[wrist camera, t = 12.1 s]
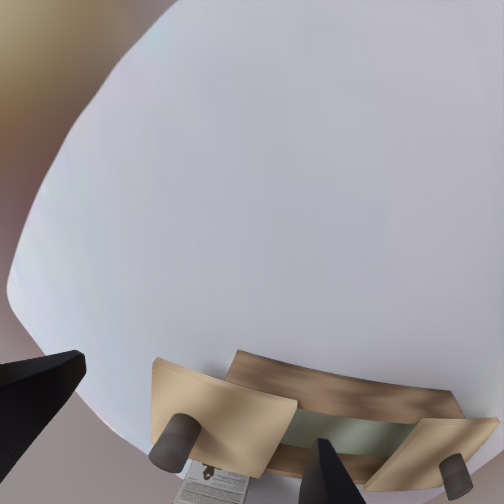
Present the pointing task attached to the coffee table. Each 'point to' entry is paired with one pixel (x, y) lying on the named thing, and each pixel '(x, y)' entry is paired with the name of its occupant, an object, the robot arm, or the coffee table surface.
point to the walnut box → (340, 413)
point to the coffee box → (212, 486)
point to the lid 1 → (213, 421)
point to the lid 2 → (434, 456)
